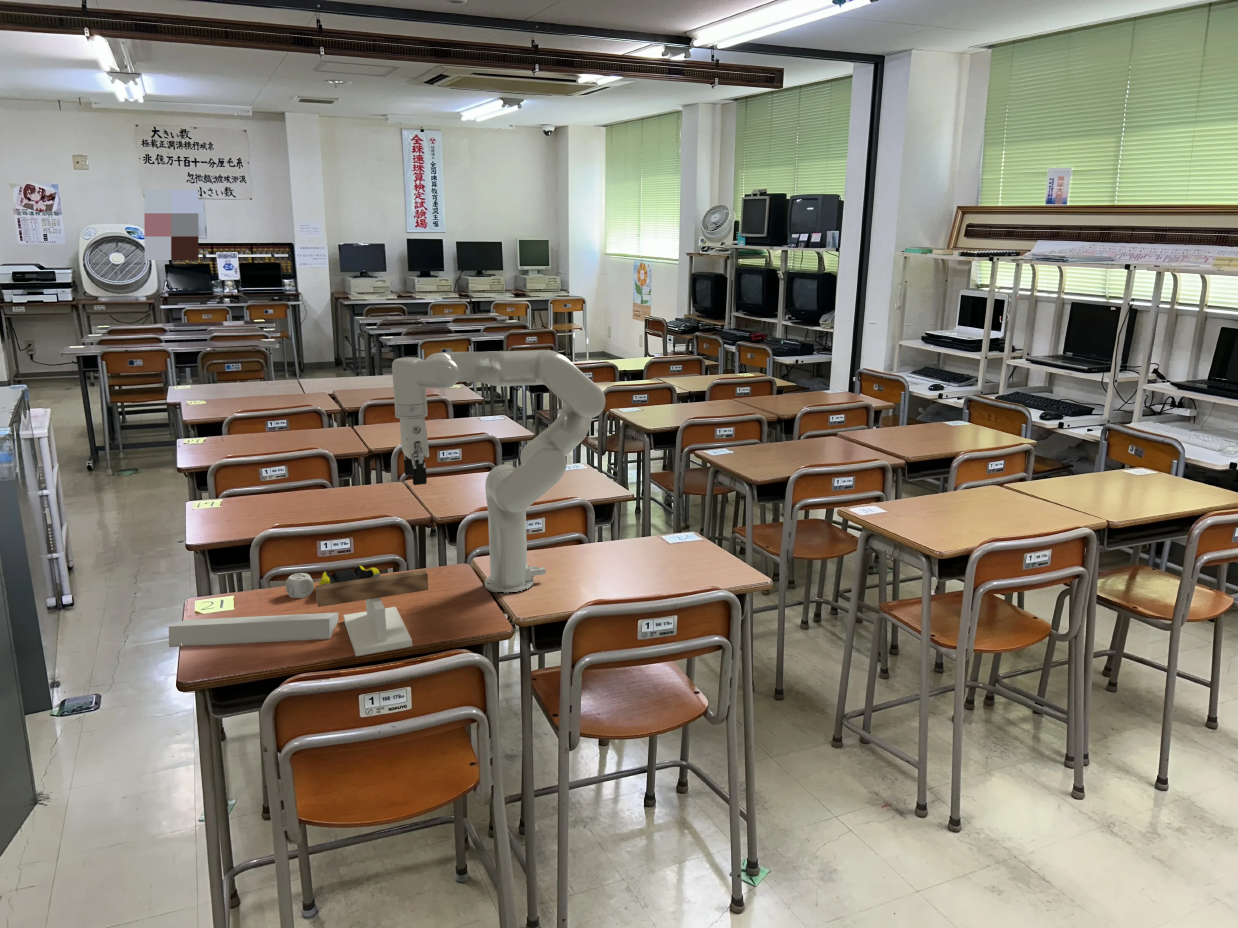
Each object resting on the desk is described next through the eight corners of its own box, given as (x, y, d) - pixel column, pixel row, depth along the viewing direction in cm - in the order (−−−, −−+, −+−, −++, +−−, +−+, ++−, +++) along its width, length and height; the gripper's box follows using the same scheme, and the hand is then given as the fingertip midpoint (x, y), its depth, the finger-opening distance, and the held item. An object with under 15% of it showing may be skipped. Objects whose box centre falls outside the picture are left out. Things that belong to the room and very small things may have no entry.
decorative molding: (186, 640, 203) (169, 648, 193) (185, 619, 203) (168, 626, 193) (338, 632, 207) (329, 640, 197) (338, 612, 207) (329, 618, 197)
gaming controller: (382, 589, 226) (371, 576, 234) (381, 568, 224) (369, 557, 233) (323, 601, 218) (313, 588, 226) (321, 580, 217) (311, 568, 225)
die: (304, 589, 225) (303, 571, 224) (314, 594, 222) (313, 576, 221) (286, 595, 222) (284, 576, 220) (296, 600, 218) (294, 581, 217)
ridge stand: (396, 612, 211) (393, 577, 209) (412, 646, 193) (410, 607, 191) (344, 620, 206) (341, 584, 204) (355, 656, 188) (352, 617, 186)
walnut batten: (426, 586, 203) (425, 569, 202) (428, 589, 201) (427, 573, 200) (316, 602, 194) (315, 585, 193) (318, 607, 192) (316, 589, 191)
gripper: (435, 414, 203) (439, 486, 208) (419, 403, 219) (423, 469, 223) (402, 417, 200) (407, 490, 205) (388, 405, 216) (393, 473, 220)
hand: (415, 479), depth 214 cm, fingers open, 9 cm apart
